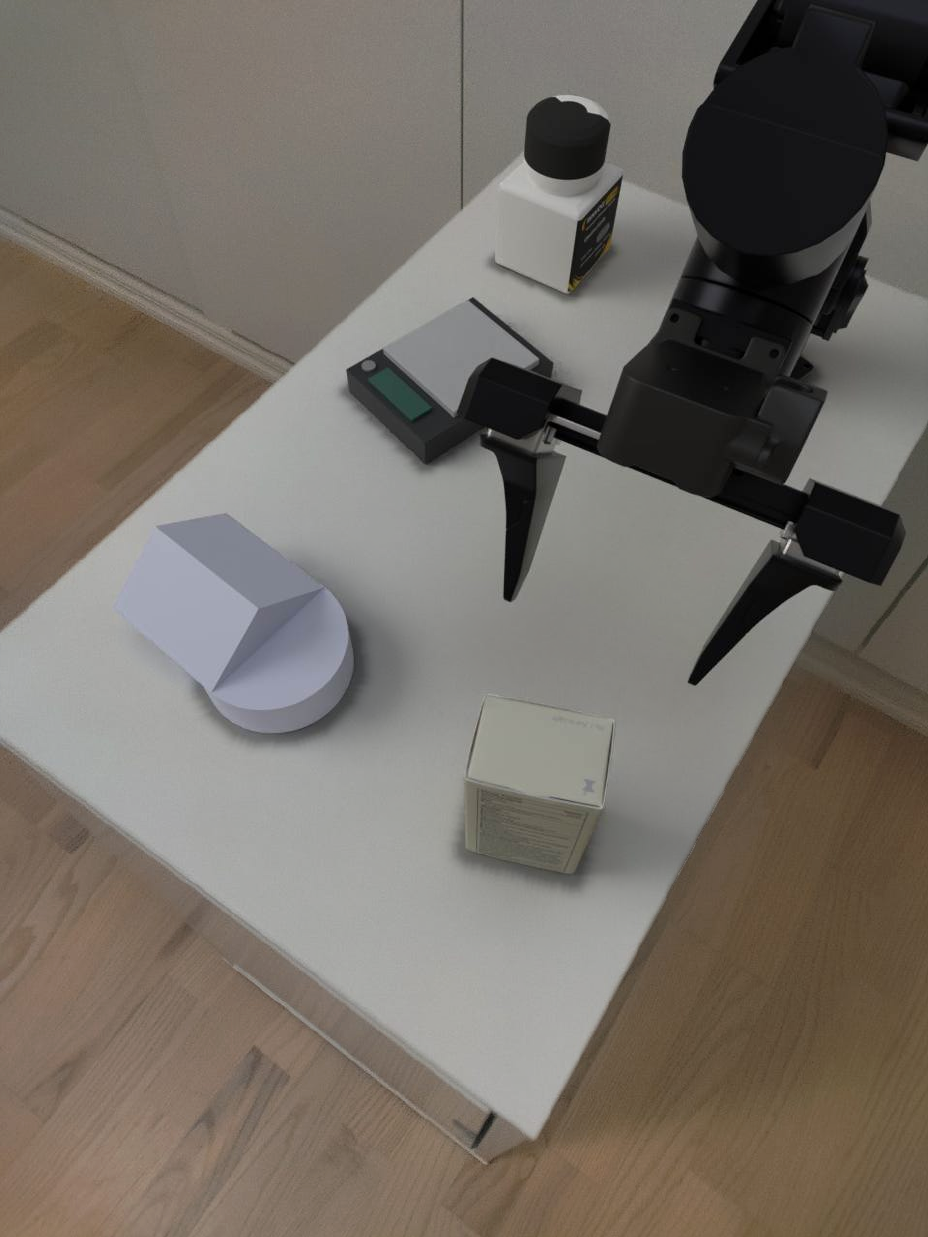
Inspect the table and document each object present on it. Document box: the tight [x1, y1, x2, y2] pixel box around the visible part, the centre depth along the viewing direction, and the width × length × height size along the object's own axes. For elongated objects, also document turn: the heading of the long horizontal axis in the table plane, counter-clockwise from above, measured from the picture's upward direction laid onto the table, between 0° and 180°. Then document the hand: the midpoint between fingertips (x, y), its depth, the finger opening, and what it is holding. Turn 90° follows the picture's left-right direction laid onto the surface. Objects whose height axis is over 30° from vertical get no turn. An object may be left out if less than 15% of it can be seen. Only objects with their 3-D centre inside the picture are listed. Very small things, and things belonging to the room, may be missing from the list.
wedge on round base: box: [112, 512, 355, 734], centre depth 51 cm, size 9×7×13 cm
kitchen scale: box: [345, 296, 554, 465], centre depth 63 cm, size 12×9×3 cm
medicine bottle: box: [494, 94, 624, 295], centre depth 67 cm, size 7×7×12 cm
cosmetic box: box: [463, 693, 617, 875], centre depth 43 cm, size 6×4×12 cm
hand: (598, 640), depth 40 cm, fingers open, 9 cm apart
